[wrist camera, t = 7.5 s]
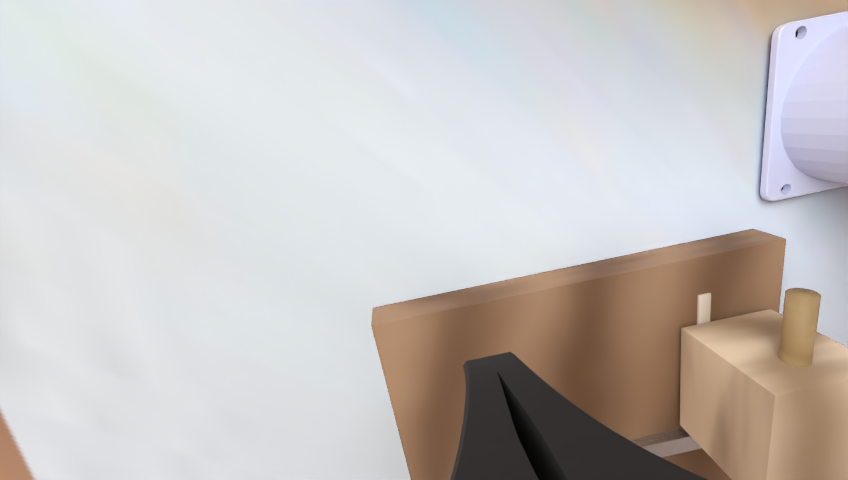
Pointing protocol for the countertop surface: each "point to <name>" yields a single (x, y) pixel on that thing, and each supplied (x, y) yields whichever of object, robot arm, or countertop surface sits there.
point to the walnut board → (574, 339)
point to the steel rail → (667, 443)
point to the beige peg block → (768, 393)
